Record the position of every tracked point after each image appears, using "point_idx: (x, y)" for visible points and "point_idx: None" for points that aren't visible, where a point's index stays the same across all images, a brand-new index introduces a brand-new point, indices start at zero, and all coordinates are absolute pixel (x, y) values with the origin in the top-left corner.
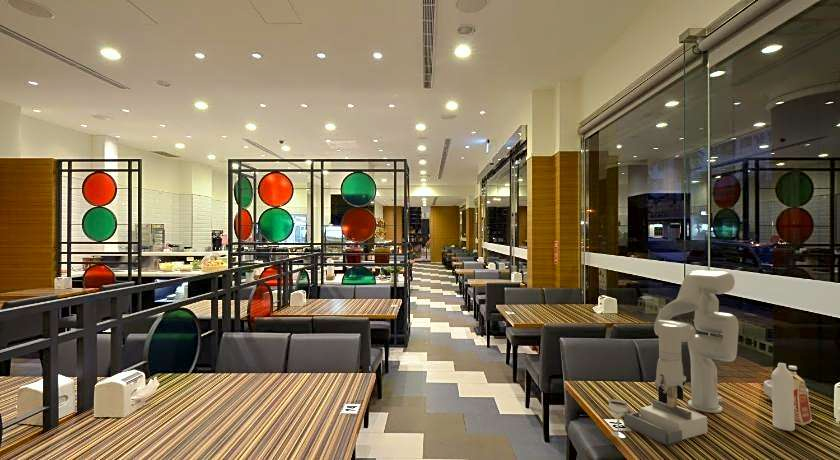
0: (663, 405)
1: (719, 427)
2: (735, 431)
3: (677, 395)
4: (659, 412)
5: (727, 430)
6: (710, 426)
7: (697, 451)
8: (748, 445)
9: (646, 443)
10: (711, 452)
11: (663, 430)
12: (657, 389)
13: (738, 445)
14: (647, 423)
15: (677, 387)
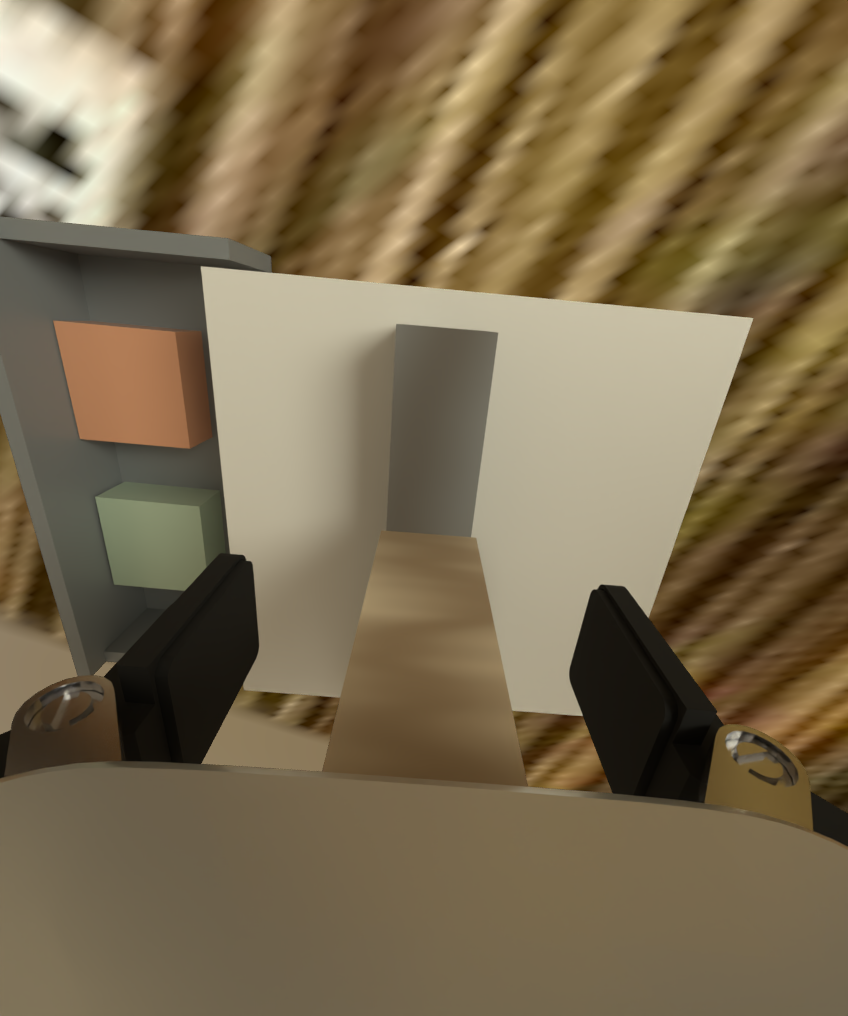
0: (388, 495)
1: (738, 626)
2: (743, 690)
3: (599, 656)
4: (305, 478)
5: (721, 665)
6: (708, 593)
7: (260, 705)
8: (580, 777)
9: (32, 534)
10: (321, 736)
11: (72, 651)
12: (23, 711)
13: (535, 759)
14: (38, 520)
15: (674, 784)
